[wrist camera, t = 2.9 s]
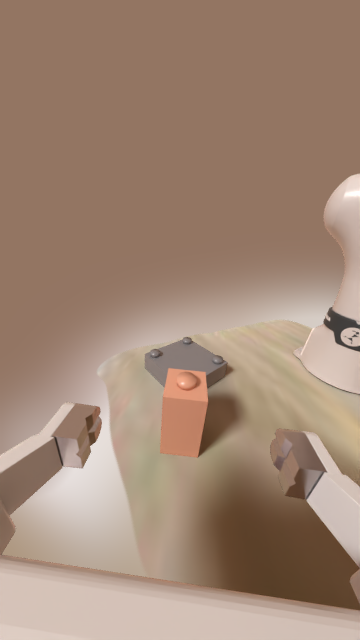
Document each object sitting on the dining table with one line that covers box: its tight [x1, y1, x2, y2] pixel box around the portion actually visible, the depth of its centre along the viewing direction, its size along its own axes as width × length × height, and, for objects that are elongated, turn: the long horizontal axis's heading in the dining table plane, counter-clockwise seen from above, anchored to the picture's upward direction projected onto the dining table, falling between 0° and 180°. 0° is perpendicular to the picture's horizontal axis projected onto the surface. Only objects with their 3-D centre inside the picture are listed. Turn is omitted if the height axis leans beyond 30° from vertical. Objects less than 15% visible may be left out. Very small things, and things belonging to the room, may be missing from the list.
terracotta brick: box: [160, 368, 208, 457], centre depth 25 cm, size 5×5×11 cm
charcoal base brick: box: [145, 337, 228, 388], centre depth 39 cm, size 12×12×5 cm
